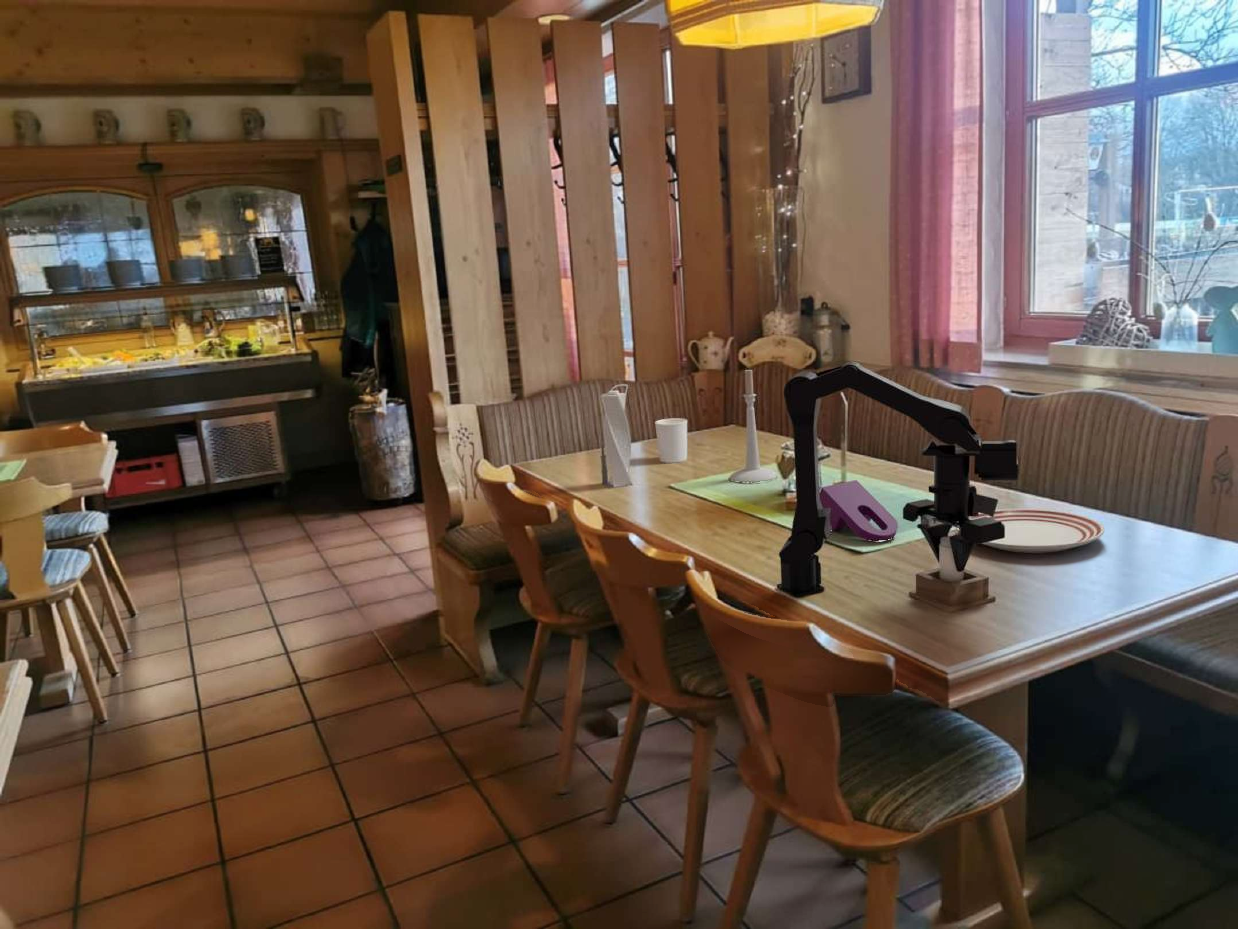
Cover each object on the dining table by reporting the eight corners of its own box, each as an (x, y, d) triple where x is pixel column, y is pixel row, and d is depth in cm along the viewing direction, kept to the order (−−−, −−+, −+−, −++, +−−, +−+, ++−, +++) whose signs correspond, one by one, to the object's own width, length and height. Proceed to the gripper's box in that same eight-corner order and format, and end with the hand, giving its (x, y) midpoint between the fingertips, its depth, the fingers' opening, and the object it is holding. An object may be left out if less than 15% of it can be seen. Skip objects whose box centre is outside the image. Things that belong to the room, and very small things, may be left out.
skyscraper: (629, 480, 266) (622, 382, 260) (639, 486, 259) (631, 385, 253) (601, 484, 264) (593, 385, 258) (610, 490, 256) (602, 388, 250)
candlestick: (787, 476, 255) (782, 366, 248) (751, 486, 248) (746, 373, 242) (755, 470, 265) (750, 364, 259) (720, 478, 259) (714, 370, 252)
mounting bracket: (895, 560, 201) (846, 509, 214) (907, 530, 197) (856, 479, 209) (859, 569, 198) (812, 516, 211) (870, 539, 193) (821, 487, 206)
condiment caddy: (949, 612, 157) (949, 590, 156) (909, 594, 166) (909, 573, 165) (995, 600, 161) (995, 578, 160) (953, 583, 170) (953, 562, 169)
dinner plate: (927, 536, 198) (927, 521, 197) (1025, 513, 208) (1025, 498, 207) (1030, 572, 173) (1030, 555, 172) (1136, 544, 183) (1137, 527, 182)
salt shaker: (950, 589, 160) (950, 544, 159) (934, 582, 164) (934, 538, 162) (968, 584, 162) (969, 540, 160) (952, 577, 165) (952, 534, 164)
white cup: (690, 462, 281) (688, 422, 278) (657, 464, 281) (655, 425, 279) (688, 455, 291) (686, 417, 288) (657, 457, 291) (654, 419, 288)
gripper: (1031, 483, 153) (1029, 574, 157) (950, 463, 170) (949, 545, 174) (978, 494, 149) (977, 587, 153) (900, 473, 166) (901, 557, 170)
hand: (951, 568), depth 162 cm, fingers closed on salt shaker, 4 cm apart
